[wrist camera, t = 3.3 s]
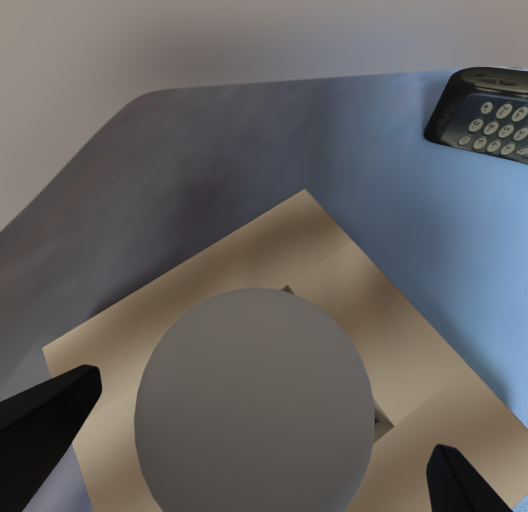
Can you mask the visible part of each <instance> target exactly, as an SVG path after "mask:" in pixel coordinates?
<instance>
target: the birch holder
mask: <svg viewBox="0 0 528 512" xmlns="http://www.w3.org/2000/svg"><path fill="white" fill-rule="evenodd" d="M259 287H260V288H268V289H276V290H281V291H285V292H288V293H291V294H294V295H297V296H300V297H301V298H303V299H305V300H307V301H309V302H311V303H313V304H314V305H316V306H318V307H319V308H320V309H322V310H323V311H324V312H325V313H326V314H328V315H329V316H330V317H331V318H333V319H334V320H335V321H336V322H337V324H338V325H339V326H340V327H341V328H342V329H343V331H344V332H345V333H346V334H347V335H348V336H349V338H350V340H351V341H352V343H353V345H354V346H355V348H356V350H357V351H358V353H359V355H360V357H361V359H362V361H363V364H364V367H365V369H366V372H367V375H368V377H369V380H370V384H371V390H372V396H373V401H374V407H375V418H376V419H377V421H378V422H377V423H376V424H375V435H374V441H373V446H372V452H371V457H370V462H369V465H368V468H367V470H366V473H365V475H364V478H363V480H362V483H361V485H360V488H359V490H358V492H357V493H356V495H355V496H354V498H353V499H352V501H351V502H350V504H349V505H348V507H347V508H346V510H345V511H344V512H432V509H431V503H430V497H429V490H428V484H427V478H426V467H427V464H428V461H429V459H430V456H431V454H432V452H433V449H434V447H435V445H437V444H444V445H448V446H453V447H455V448H457V449H458V450H459V451H460V452H461V453H462V454H463V455H464V457H465V458H466V459H467V460H468V461H469V462H470V463H471V464H472V466H473V467H474V468H475V469H476V470H477V471H478V472H479V473H480V475H481V476H482V477H483V478H484V479H485V480H486V481H487V483H488V484H489V485H490V486H491V487H492V488H493V489H494V490H495V492H496V493H497V494H498V495H499V496H500V497H501V498H502V499H503V501H504V502H505V503H506V504H507V505H508V506H509V507H510V508H511V510H512V509H513V508H514V507H515V506H516V505H517V504H518V503H519V502H520V501H521V500H522V499H523V498H524V497H525V496H526V495H527V494H528V429H527V428H526V427H525V426H524V425H523V423H522V422H521V421H520V420H519V419H518V418H517V417H516V416H515V415H514V414H513V413H512V412H511V411H510V409H509V408H508V407H507V406H506V405H505V404H504V403H503V402H502V401H501V400H500V399H499V398H498V396H497V395H496V394H495V393H494V392H493V391H492V390H491V389H490V388H489V387H488V386H487V385H486V384H485V382H484V381H483V380H482V379H481V378H480V377H479V376H478V375H477V374H476V373H475V372H474V371H473V370H472V368H471V367H470V366H469V365H468V364H467V363H466V362H465V361H464V360H463V359H462V358H461V357H460V356H459V354H458V353H457V352H456V351H455V350H454V349H453V348H452V347H451V346H450V345H449V344H448V343H447V342H446V340H445V339H444V338H443V337H442V336H441V335H440V334H439V333H438V332H437V331H436V330H435V329H434V327H433V326H432V325H431V324H430V323H429V322H428V321H427V320H426V319H425V318H424V317H423V316H422V315H421V313H420V312H419V311H418V310H417V309H416V308H415V307H414V306H413V305H412V304H411V303H410V302H409V301H408V299H407V298H406V297H405V296H404V295H403V294H402V293H401V292H400V291H399V290H398V289H397V288H396V287H395V285H394V284H393V283H392V282H391V281H390V280H389V279H388V278H387V277H386V276H385V275H384V274H383V273H382V271H381V270H380V269H379V268H378V267H377V266H376V265H375V264H374V263H373V262H372V261H371V260H370V258H369V257H368V256H367V255H366V254H365V253H364V252H363V251H362V250H361V249H360V248H359V247H358V246H357V244H356V243H355V242H354V241H353V240H352V239H351V238H350V237H349V236H348V235H347V234H346V233H345V232H344V230H343V229H342V228H341V227H340V226H339V225H338V224H337V223H336V222H335V221H334V220H333V219H332V218H331V216H330V215H329V214H328V213H327V212H326V211H325V210H324V209H323V208H322V207H321V206H320V205H319V204H318V202H317V201H316V200H315V199H314V198H313V197H312V196H311V195H310V194H309V193H308V192H307V191H306V189H303V190H302V191H300V192H298V193H297V194H295V195H294V196H292V197H290V198H289V199H287V200H285V201H284V202H282V203H280V204H279V205H277V206H275V207H274V208H272V209H270V210H269V211H267V212H266V213H264V214H262V215H261V216H259V217H257V218H256V219H254V220H252V221H251V222H249V223H247V224H246V225H244V226H242V227H241V228H239V229H238V230H236V231H234V232H233V233H231V234H229V235H228V236H226V237H224V238H223V239H221V240H219V241H218V242H216V243H214V244H213V245H211V246H210V247H208V248H206V249H205V250H203V251H201V252H200V253H198V254H196V255H195V256H193V257H191V258H190V259H188V260H186V261H185V262H183V263H182V264H180V265H178V266H177V267H175V268H173V269H172V270H170V271H168V272H167V273H165V274H163V275H162V276H160V277H158V278H157V279H155V280H154V281H152V282H150V283H149V284H147V285H145V286H144V287H142V288H140V289H139V290H137V291H135V292H134V293H132V294H131V295H129V296H127V297H126V298H124V299H122V300H121V301H119V302H117V303H116V304H114V305H112V306H111V307H109V308H107V309H106V310H104V311H103V312H101V313H99V314H98V315H96V316H94V317H93V318H91V319H89V320H88V321H86V322H84V323H83V324H81V325H79V326H78V327H76V328H75V329H73V330H71V331H70V332H68V333H66V334H65V335H63V336H61V337H60V338H58V339H56V340H55V341H53V342H51V343H50V344H48V345H47V346H45V347H43V348H42V349H43V352H44V355H45V359H46V362H47V365H48V368H49V371H50V374H51V378H54V377H56V376H58V375H61V374H63V373H65V372H67V371H69V370H72V369H74V368H76V367H78V366H80V365H83V364H88V365H93V366H97V367H98V368H99V369H100V374H101V381H102V394H101V396H100V398H99V400H98V401H97V403H96V405H95V406H94V408H93V410H92V411H91V413H90V414H89V416H88V418H87V419H86V421H85V423H84V424H83V426H82V427H81V429H80V431H79V432H78V434H77V435H76V437H75V439H74V440H73V442H72V444H73V447H74V450H75V454H76V457H77V460H78V463H79V466H80V469H81V473H82V476H83V479H84V482H85V485H86V488H87V492H88V495H89V498H90V501H91V504H92V507H93V511H94V512H163V511H162V509H161V508H160V507H159V505H158V504H157V502H156V501H155V500H154V498H153V497H152V494H151V492H150V490H149V488H148V485H147V483H146V481H145V479H144V477H143V474H142V472H141V468H140V464H139V459H138V455H137V451H136V447H135V431H134V414H135V406H136V398H137V392H138V389H139V385H140V382H141V378H142V375H143V372H144V369H145V367H146V365H147V363H148V361H149V359H150V357H151V355H152V352H153V350H154V349H155V347H156V346H157V344H158V343H159V341H160V340H161V339H162V337H163V336H164V334H165V333H166V332H167V330H168V329H169V328H170V327H171V326H172V325H173V324H174V323H175V322H176V321H177V320H178V319H179V318H180V317H181V316H182V315H183V314H185V313H186V312H188V311H189V310H191V309H192V308H193V307H195V306H196V305H198V304H199V303H201V302H203V301H205V300H207V299H209V298H212V297H214V296H216V295H218V294H221V293H225V292H229V291H233V290H237V289H245V288H259Z"/></svg>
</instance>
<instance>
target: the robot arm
mask: <svg viewBox="0 0 528 512" xmlns="http://www.w3.org/2000/svg"><path fill="white" fill-rule="evenodd" d="M101 394H102V381H101V374H100V369H99V368H98V367H97V366H93V365H88V364H83V365H80V366H78V367H76V368H74V369H72V370H69V371H67V372H65V373H63V374H61V375H58V376H56V377H54V378H52V379H50V380H47V381H45V382H43V383H41V384H39V385H36V386H34V387H32V388H30V389H28V390H25V391H23V392H21V393H19V394H17V395H14V396H12V397H10V398H8V399H6V400H3V401H1V402H0V512H22V511H23V510H24V508H25V507H26V506H27V504H28V503H29V502H30V500H31V499H32V498H33V496H34V495H35V494H36V492H37V491H38V489H39V488H40V487H41V485H42V484H43V483H44V481H45V480H46V479H47V477H48V476H49V475H50V473H51V472H52V471H53V469H54V468H55V466H56V465H57V464H58V462H59V461H60V460H61V458H62V457H63V455H64V454H65V453H66V451H67V450H68V448H69V447H70V445H71V444H72V442H73V440H74V439H75V437H76V435H77V434H78V432H79V431H80V429H81V427H82V426H83V424H84V423H85V421H86V419H87V418H88V416H89V414H90V413H91V411H92V410H93V408H94V406H95V405H96V403H97V401H98V400H99V398H100V396H101ZM426 478H427V484H428V490H429V497H430V503H431V509H432V512H513V511H512V510H511V508H510V507H509V506H508V505H507V504H506V503H505V502H504V501H503V499H502V498H501V497H500V496H499V495H498V494H497V493H496V492H495V490H494V489H493V488H492V487H491V486H490V485H489V484H488V483H487V481H486V480H485V479H484V478H483V477H482V476H481V475H480V473H479V472H478V471H477V470H476V469H475V468H474V467H473V466H472V464H471V463H470V462H469V461H468V460H467V459H466V458H465V457H464V455H463V454H462V453H461V452H460V451H459V450H458V449H457V448H455V447H453V446H448V445H444V444H437V445H435V447H434V449H433V452H432V454H431V456H430V459H429V461H428V464H427V467H426Z"/></svg>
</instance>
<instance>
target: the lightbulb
mask: <svg viewBox="0 0 528 512" xmlns="http://www.w3.org/2000/svg"><path fill="white" fill-rule="evenodd" d="M134 431H135V447H136V451H137V455H138V459H139V464H140V468H141V472H142V474H143V477H144V479H145V481H146V483H147V485H148V488H149V490H150V492H151V494H152V497H153V498H154V500H155V501H156V502H157V504H158V505H159V507H160V508H161V509H162V511H163V512H344V511H345V510H346V508H347V507H348V505H349V504H350V502H351V501H352V499H353V498H354V496H355V495H356V493H357V492H358V490H359V488H360V485H361V483H362V480H363V478H364V475H365V473H366V470H367V468H368V465H369V462H370V457H371V452H372V446H373V441H374V435H375V407H374V401H373V396H372V390H371V384H370V380H369V377H368V375H367V372H366V369H365V367H364V364H363V361H362V359H361V357H360V355H359V353H358V351H357V350H356V348H355V346H354V345H353V343H352V341H351V340H350V338H349V336H348V335H347V334H346V333H345V332H344V331H343V329H342V328H341V327H340V326H339V325H338V324H337V322H336V321H335V320H334V319H333V318H331V317H330V316H329V315H328V314H326V313H325V312H324V311H323V310H322V309H320V308H319V307H318V306H316V305H314V304H313V303H311V302H309V301H307V300H305V299H303V298H301V297H300V296H297V295H294V294H291V293H288V292H285V291H281V290H276V289H268V288H260V287H259V288H245V289H237V290H233V291H229V292H225V293H221V294H218V295H216V296H214V297H212V298H209V299H207V300H205V301H203V302H201V303H199V304H198V305H196V306H195V307H193V308H192V309H191V310H189V311H188V312H186V313H185V314H183V315H182V316H181V317H180V318H179V319H178V320H177V321H176V322H175V323H174V324H173V325H172V326H171V327H170V328H169V329H168V330H167V332H166V333H165V334H164V336H163V337H162V339H161V340H160V341H159V343H158V344H157V346H156V347H155V349H154V350H153V352H152V355H151V357H150V359H149V361H148V363H147V365H146V367H145V369H144V372H143V375H142V378H141V382H140V385H139V389H138V392H137V398H136V406H135V414H134Z"/></svg>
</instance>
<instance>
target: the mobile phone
mask: <svg viewBox="0 0 528 512" xmlns="http://www.w3.org/2000/svg"><path fill="white" fill-rule="evenodd" d="M424 138H425V139H426V140H428V141H430V142H433V143H437V144H441V145H446V146H450V147H455V148H459V149H464V150H468V151H473V152H477V153H482V154H486V155H490V156H495V157H499V158H504V159H508V160H512V161H516V162H520V163H524V164H528V71H519V70H510V69H502V68H493V67H472V68H467V69H463V70H460V71H458V72H456V73H454V74H453V75H452V76H451V77H450V79H449V81H448V83H447V85H446V87H445V89H444V91H443V93H442V95H441V97H440V99H439V101H438V103H437V106H436V108H435V110H434V112H433V114H432V116H431V118H430V120H429V122H428V124H427V126H426V129H425V132H424Z"/></svg>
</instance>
